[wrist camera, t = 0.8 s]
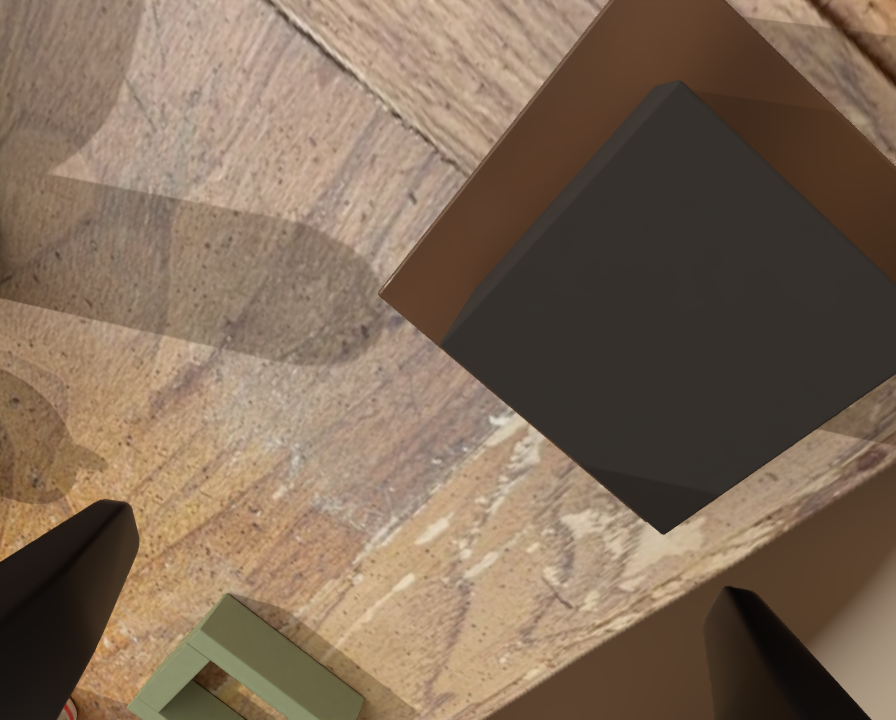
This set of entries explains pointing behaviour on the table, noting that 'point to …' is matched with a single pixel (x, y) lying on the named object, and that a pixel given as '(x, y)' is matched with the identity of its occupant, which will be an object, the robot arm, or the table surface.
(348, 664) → the table surface
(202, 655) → the green square frame
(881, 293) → the black block
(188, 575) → the table surface
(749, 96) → the block
